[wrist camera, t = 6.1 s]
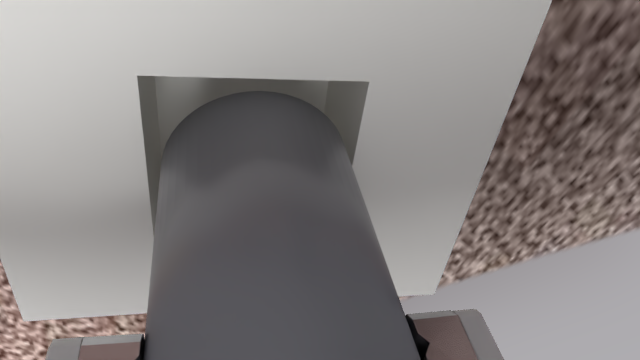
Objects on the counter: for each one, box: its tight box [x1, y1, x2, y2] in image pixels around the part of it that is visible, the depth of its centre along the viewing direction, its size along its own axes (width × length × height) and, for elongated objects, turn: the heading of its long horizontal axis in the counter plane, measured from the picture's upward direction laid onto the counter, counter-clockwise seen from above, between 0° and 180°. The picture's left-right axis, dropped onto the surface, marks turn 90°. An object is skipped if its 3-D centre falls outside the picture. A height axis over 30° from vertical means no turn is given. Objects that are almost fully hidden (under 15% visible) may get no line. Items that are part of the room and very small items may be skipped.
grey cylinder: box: [143, 91, 421, 360], centre depth 11 cm, size 5×5×8 cm
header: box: [0, 0, 552, 321], centre depth 16 cm, size 14×12×5 cm
